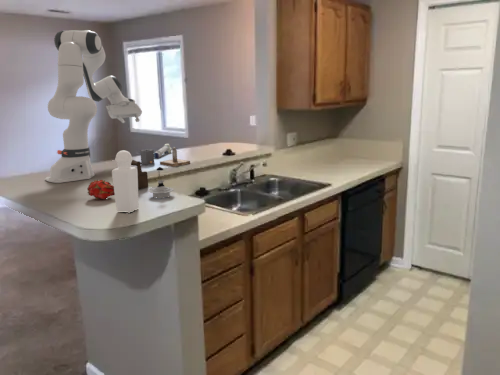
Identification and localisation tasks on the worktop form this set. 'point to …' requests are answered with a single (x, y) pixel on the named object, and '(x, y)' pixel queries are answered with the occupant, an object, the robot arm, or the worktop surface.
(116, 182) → the white bottle
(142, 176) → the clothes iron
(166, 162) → the post plate
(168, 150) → the grey dark-ended cylinder
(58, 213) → the worktop surface
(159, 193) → the grey knobbed stem base
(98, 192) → the dragon fruit
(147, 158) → the dark grey box
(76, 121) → the robot arm
